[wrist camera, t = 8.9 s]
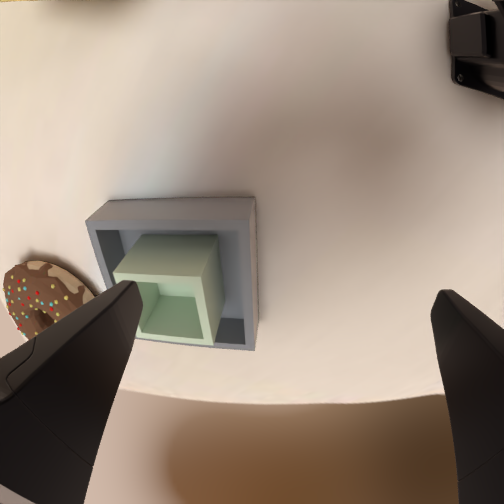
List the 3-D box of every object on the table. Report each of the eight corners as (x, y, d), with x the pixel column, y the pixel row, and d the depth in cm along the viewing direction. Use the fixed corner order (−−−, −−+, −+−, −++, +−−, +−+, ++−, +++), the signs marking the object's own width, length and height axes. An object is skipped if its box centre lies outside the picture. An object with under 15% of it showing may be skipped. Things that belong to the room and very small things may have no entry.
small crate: (217, 234, 22) (200, 277, 18) (225, 299, 25) (213, 345, 21) (141, 234, 23) (112, 272, 18) (157, 295, 26) (136, 337, 22)
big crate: (255, 197, 21) (249, 220, 18) (258, 320, 27) (254, 350, 24) (108, 200, 22) (85, 220, 19) (139, 311, 28) (126, 337, 25)
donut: (99, 257, 25) (71, 291, 21) (129, 354, 33) (113, 388, 29) (4, 243, 26) (-23, 268, 22) (41, 330, 34) (23, 356, 29)
